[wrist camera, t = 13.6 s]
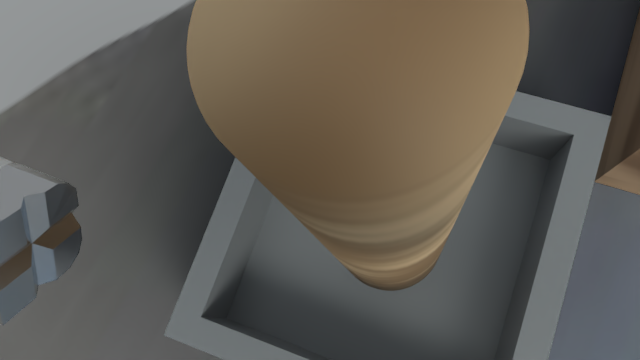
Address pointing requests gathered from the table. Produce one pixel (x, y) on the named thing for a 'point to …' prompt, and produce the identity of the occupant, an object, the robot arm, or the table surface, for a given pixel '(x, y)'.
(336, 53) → the oak dowel
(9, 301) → the robot arm
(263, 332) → the grey tray
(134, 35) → the table surface
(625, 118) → the walnut holder
